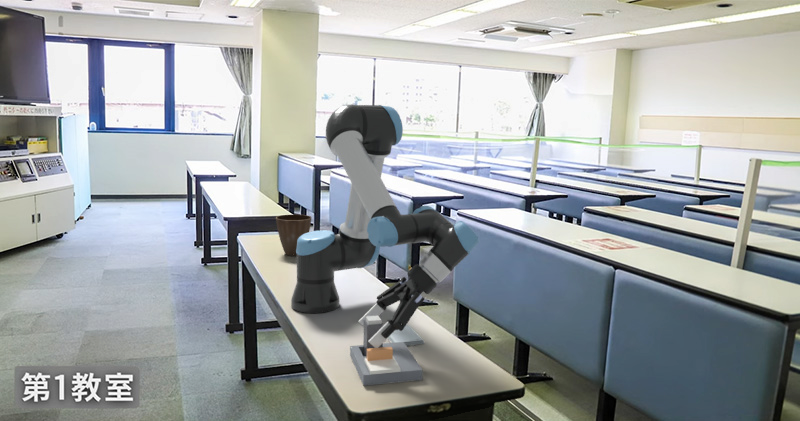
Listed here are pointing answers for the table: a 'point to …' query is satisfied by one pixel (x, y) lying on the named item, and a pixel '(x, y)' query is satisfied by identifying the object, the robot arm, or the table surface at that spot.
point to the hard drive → (406, 336)
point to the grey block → (371, 331)
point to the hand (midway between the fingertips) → (366, 334)
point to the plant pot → (292, 231)
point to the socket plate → (407, 373)
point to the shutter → (381, 361)
